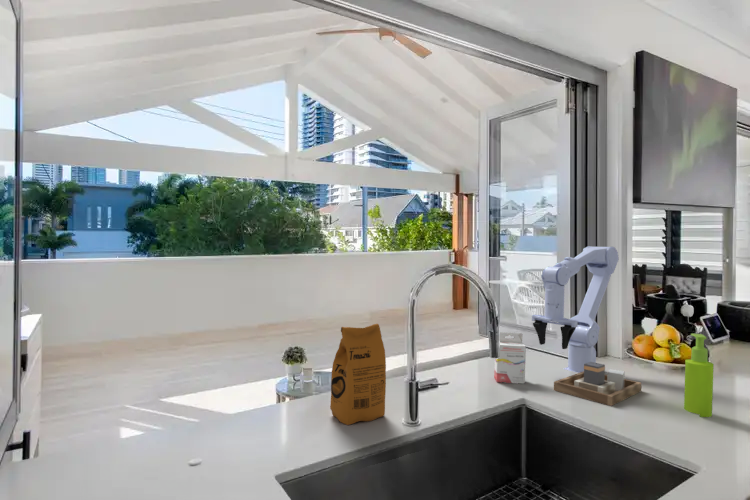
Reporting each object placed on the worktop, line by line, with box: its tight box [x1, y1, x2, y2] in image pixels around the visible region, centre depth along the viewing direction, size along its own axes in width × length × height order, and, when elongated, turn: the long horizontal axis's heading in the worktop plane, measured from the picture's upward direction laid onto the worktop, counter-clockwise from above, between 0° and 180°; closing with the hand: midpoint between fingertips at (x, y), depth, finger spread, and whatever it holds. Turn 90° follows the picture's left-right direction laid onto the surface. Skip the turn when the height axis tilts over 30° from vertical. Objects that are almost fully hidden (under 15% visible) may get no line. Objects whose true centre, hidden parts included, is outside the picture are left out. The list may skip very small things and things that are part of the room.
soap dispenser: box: [683, 333, 714, 418], centre depth 118 cm, size 6×7×20 cm
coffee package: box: [329, 323, 387, 426], centre depth 111 cm, size 10×12×22 cm
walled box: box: [553, 371, 642, 407], centre depth 132 cm, size 20×16×4 cm
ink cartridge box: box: [493, 331, 527, 384], centre depth 142 cm, size 9×5×15 cm, turn 84°
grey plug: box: [606, 368, 626, 391], centre depth 134 cm, size 4×4×5 cm
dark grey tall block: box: [584, 362, 606, 386], centre depth 131 cm, size 4×4×8 cm
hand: (553, 346), depth 147 cm, fingers open, 7 cm apart
